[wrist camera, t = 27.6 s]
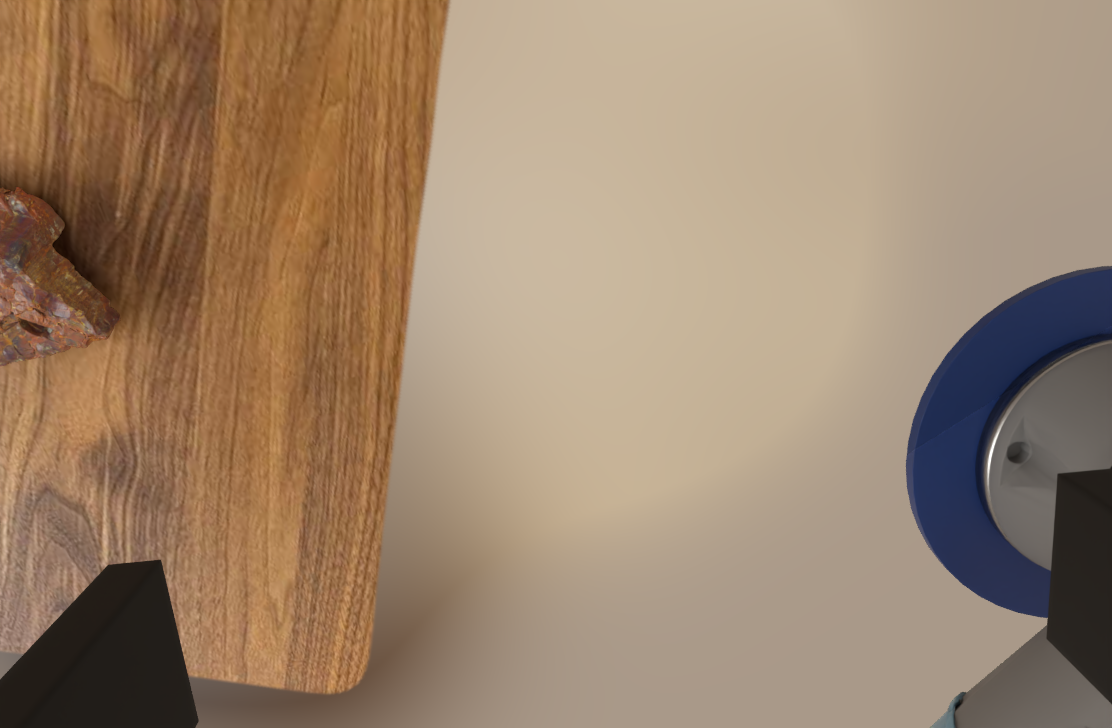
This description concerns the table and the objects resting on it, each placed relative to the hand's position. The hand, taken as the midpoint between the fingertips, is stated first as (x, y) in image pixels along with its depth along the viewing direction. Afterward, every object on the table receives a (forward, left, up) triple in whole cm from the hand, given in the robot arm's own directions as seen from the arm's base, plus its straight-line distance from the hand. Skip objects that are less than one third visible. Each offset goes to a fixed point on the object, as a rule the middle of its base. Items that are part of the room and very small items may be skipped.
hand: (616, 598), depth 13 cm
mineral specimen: (+16, +24, -37) cm, 47 cm away
